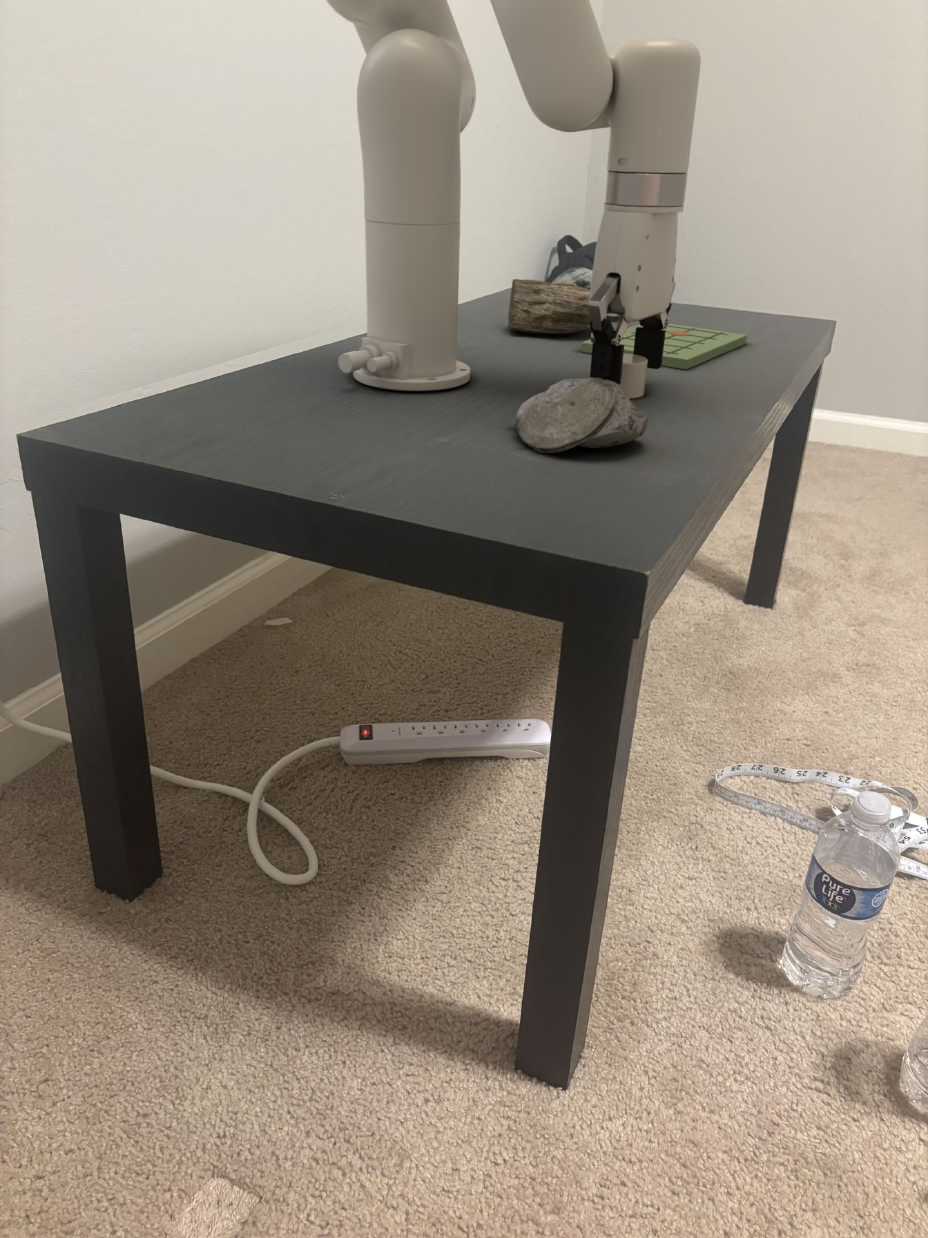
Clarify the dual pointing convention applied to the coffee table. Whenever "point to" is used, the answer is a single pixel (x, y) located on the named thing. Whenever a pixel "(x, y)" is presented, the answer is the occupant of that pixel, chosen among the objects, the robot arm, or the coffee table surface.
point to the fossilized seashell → (579, 416)
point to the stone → (548, 307)
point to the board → (684, 344)
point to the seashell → (576, 277)
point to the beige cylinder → (633, 375)
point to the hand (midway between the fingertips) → (626, 375)
